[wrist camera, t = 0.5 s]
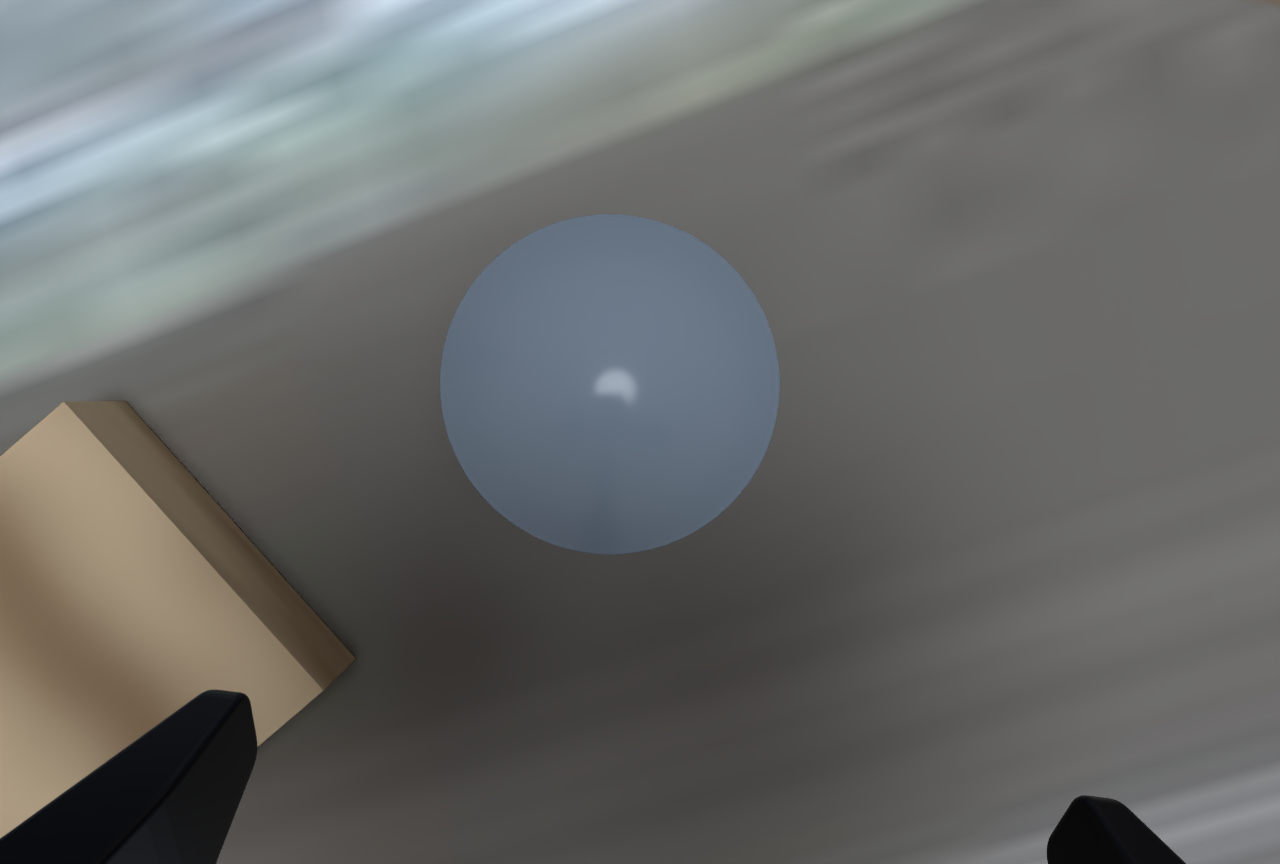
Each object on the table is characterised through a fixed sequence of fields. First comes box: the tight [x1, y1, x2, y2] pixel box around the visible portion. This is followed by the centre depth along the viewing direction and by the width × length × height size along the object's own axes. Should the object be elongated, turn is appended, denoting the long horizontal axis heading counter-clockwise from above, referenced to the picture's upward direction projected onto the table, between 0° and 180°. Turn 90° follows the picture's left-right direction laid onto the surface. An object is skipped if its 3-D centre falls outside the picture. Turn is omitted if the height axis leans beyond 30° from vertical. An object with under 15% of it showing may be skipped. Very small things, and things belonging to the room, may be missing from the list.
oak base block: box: [0, 401, 356, 838], centre depth 22 cm, size 10×10×2 cm
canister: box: [440, 214, 780, 554], centre depth 18 cm, size 5×5×11 cm
